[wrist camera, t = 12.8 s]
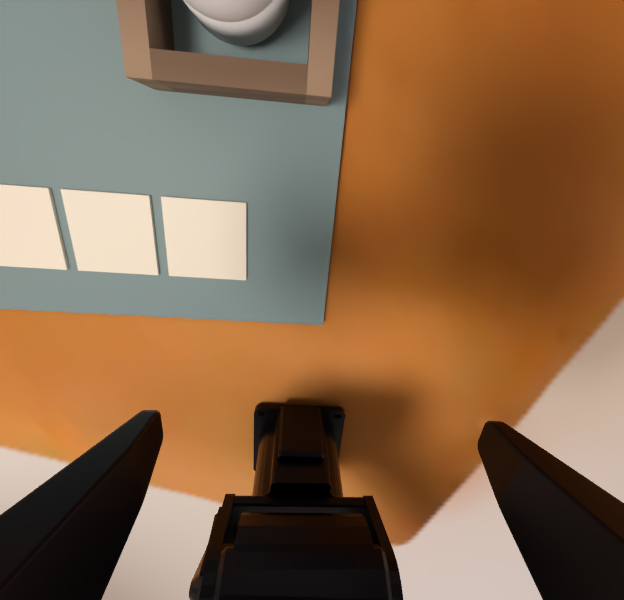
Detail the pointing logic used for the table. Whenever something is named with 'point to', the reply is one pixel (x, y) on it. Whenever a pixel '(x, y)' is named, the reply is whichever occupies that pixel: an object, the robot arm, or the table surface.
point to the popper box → (225, 59)
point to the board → (161, 174)
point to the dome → (239, 18)
